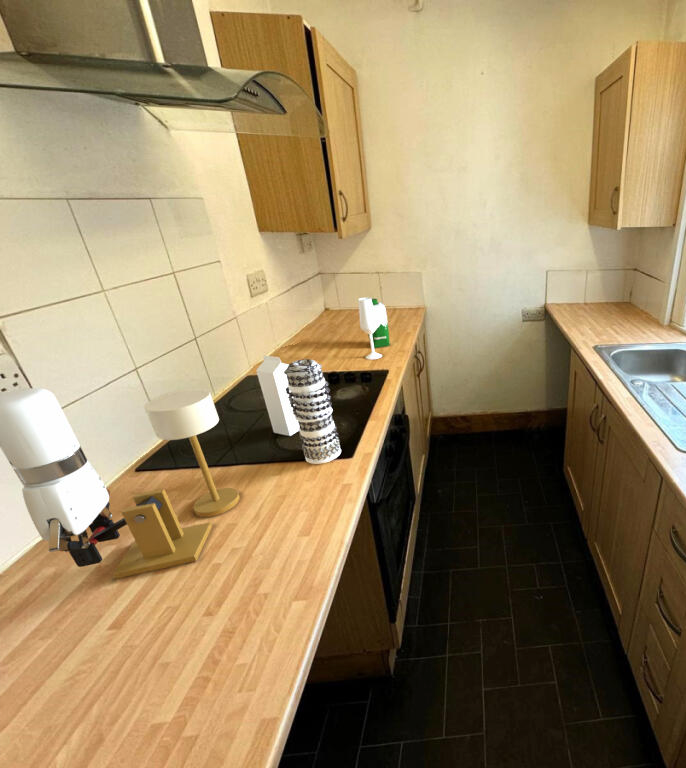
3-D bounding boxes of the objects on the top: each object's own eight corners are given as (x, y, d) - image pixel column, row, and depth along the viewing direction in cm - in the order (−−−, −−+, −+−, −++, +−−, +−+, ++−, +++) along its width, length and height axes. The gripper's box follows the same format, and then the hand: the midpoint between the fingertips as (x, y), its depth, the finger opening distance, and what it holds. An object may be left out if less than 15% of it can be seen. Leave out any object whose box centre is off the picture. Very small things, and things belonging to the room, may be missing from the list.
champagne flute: (367, 360, 168) (357, 301, 158) (364, 355, 173) (354, 298, 164) (383, 357, 171) (375, 299, 161) (380, 352, 176) (371, 296, 167)
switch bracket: (115, 579, 71) (85, 525, 66) (139, 541, 79) (114, 491, 74) (196, 561, 75) (174, 509, 70) (212, 526, 82) (193, 478, 78)
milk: (290, 436, 114) (269, 361, 105) (273, 432, 116) (252, 359, 107) (307, 425, 119) (289, 353, 110) (290, 422, 121) (271, 351, 112)
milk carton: (387, 340, 192) (381, 297, 183) (392, 346, 184) (386, 301, 176) (367, 343, 188) (360, 299, 180) (372, 349, 180) (365, 303, 172)
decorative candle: (335, 464, 101) (313, 369, 91) (297, 465, 101) (271, 370, 91) (348, 444, 110) (329, 355, 100) (312, 445, 110) (291, 356, 100)
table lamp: (181, 525, 83) (133, 415, 73) (198, 494, 92) (158, 392, 81) (238, 514, 86) (200, 406, 76) (249, 485, 94) (216, 385, 84)
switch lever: (87, 556, 70) (74, 548, 69) (103, 535, 75) (91, 527, 73) (154, 517, 71) (142, 509, 70) (166, 499, 76) (155, 491, 74)
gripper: (57, 442, 72) (100, 523, 79) (-22, 504, 57) (40, 597, 65) (110, 434, 74) (147, 514, 81) (47, 492, 59) (100, 584, 67)
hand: (99, 550), depth 73 cm, fingers closed on switch lever, 5 cm apart
